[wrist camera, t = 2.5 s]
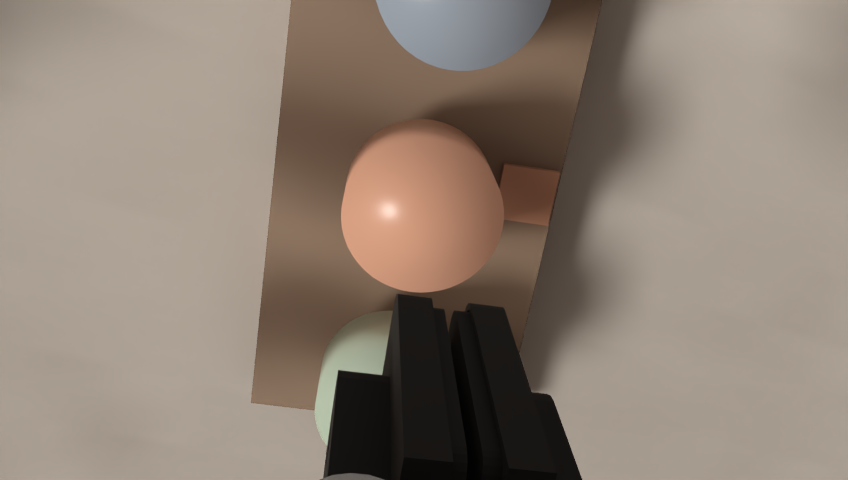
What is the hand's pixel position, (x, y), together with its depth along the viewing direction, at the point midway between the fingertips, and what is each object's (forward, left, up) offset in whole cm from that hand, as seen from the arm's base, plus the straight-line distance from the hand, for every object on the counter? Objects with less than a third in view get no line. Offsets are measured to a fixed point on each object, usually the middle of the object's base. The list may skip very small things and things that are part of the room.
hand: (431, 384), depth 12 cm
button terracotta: (-1, 0, -12) cm, 12 cm away
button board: (-1, 0, -15) cm, 15 cm away
